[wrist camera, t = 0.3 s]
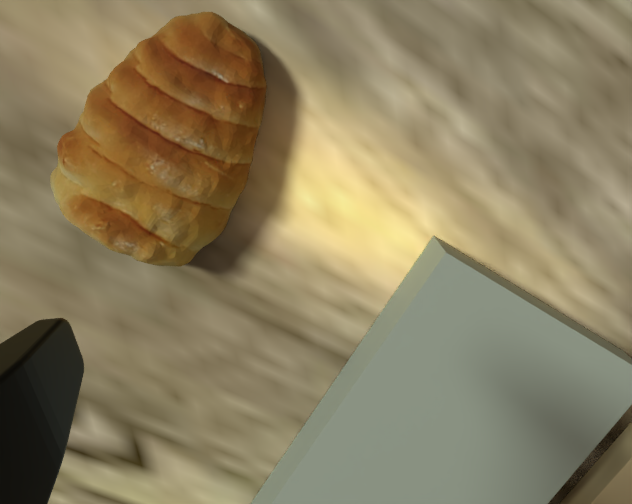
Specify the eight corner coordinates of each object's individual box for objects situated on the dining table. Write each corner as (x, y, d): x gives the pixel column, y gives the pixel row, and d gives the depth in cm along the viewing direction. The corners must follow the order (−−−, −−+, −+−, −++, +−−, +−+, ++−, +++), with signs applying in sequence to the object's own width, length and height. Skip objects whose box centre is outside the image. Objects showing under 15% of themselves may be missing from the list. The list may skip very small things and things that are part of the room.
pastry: (160, -23, 22) (130, -43, 19) (314, 76, 23) (314, 76, 20) (54, 188, 24) (8, 208, 21) (198, 271, 25) (179, 303, 22)
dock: (407, 614, 30) (414, 660, 28) (234, 527, 29) (226, 568, 26) (622, 350, 26) (654, 378, 24) (433, 235, 25) (446, 252, 22)
